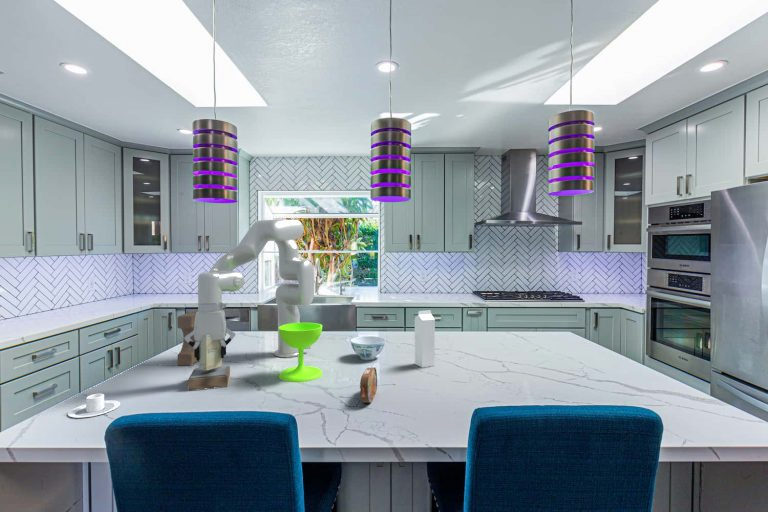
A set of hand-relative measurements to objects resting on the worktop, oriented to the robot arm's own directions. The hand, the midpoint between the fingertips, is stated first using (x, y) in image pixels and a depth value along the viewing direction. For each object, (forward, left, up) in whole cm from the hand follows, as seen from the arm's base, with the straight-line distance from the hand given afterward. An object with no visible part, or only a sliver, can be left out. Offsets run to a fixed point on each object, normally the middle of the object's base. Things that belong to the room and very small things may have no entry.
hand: (210, 358), depth 132 cm
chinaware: (-61, -13, -9) cm, 63 cm away
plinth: (0, 0, -9) cm, 9 cm away
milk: (-80, +4, -9) cm, 80 cm away
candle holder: (+29, +14, -9) cm, 34 cm away
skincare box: (0, 0, -4) cm, 4 cm away
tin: (-49, +30, -9) cm, 58 cm away
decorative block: (+11, -30, -9) cm, 33 cm away
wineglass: (-31, +1, -9) cm, 32 cm away
